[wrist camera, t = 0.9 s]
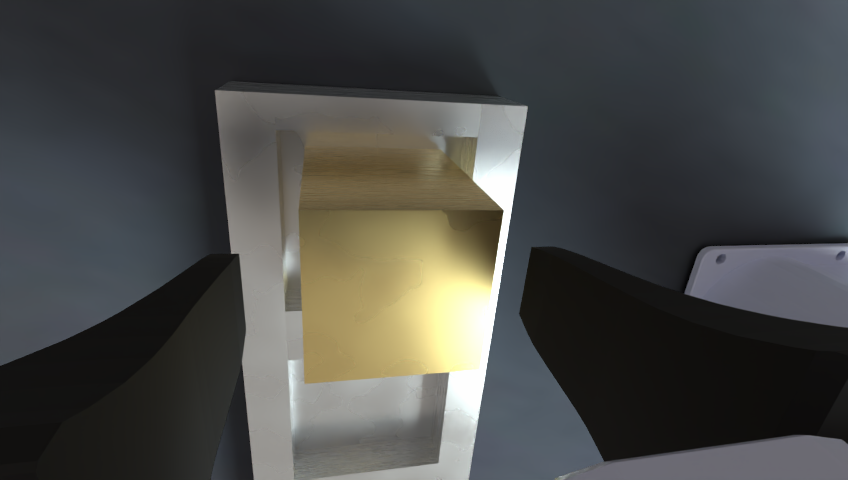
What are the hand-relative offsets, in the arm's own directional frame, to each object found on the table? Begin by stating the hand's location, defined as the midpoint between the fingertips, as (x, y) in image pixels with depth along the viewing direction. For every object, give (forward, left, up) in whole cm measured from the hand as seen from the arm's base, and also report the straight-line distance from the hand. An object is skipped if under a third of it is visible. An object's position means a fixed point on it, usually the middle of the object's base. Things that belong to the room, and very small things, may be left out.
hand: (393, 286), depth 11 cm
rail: (0, +8, -6) cm, 10 cm away
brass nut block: (0, 0, -5) cm, 5 cm away
